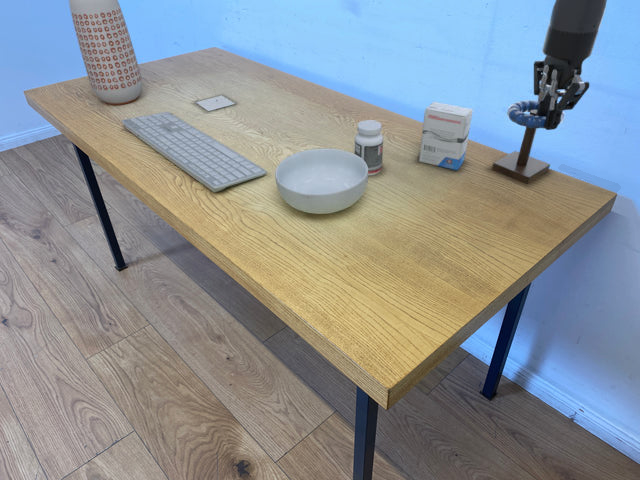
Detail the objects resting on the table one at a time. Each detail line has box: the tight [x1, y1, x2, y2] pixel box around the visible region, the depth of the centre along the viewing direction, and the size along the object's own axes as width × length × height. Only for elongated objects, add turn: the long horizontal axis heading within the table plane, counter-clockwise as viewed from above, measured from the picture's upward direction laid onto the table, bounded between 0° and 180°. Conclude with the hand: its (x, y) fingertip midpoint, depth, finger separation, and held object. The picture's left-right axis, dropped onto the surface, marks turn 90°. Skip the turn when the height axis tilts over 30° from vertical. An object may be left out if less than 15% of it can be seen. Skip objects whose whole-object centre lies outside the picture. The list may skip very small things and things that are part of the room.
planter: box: [68, 0, 143, 106], centre depth 124 cm, size 13×13×28 cm
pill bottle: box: [354, 119, 384, 176], centre depth 95 cm, size 6×6×10 cm
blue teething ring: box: [506, 100, 565, 130], centre depth 89 cm, size 10×10×2 cm
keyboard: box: [121, 111, 267, 193], centre depth 106 cm, size 44×12×2 cm, turn 41°
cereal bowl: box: [274, 147, 369, 215], centre depth 87 cm, size 17×17×7 cm
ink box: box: [418, 101, 474, 171], centre depth 97 cm, size 8×5×12 cm, turn 59°
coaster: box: [195, 95, 236, 112], centre depth 128 cm, size 8×8×1 cm
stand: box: [491, 110, 551, 185], centre depth 93 cm, size 8×8×12 cm
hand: (545, 124), depth 87 cm, fingers closed on blue teething ring, 2 cm apart
